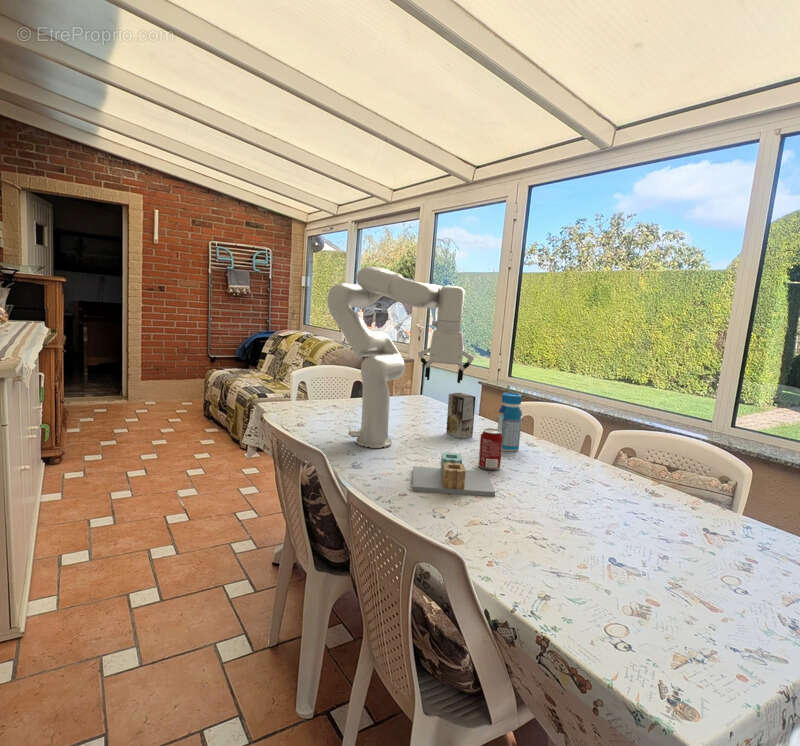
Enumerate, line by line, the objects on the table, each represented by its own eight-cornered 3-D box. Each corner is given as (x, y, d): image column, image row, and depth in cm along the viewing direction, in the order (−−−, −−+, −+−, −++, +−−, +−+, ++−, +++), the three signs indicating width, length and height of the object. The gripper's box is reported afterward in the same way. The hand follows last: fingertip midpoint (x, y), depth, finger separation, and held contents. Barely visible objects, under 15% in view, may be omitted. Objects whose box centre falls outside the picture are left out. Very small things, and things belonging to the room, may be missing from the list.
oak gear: (443, 488, 126) (444, 470, 125) (441, 478, 133) (443, 461, 132) (464, 490, 126) (465, 472, 125) (461, 480, 133) (463, 463, 132)
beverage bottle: (509, 453, 164) (515, 397, 161) (490, 447, 170) (495, 393, 167) (523, 449, 170) (529, 395, 167) (504, 443, 176) (509, 391, 173)
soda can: (499, 472, 144) (503, 434, 143) (477, 469, 146) (480, 432, 144) (499, 465, 151) (503, 429, 149) (478, 462, 152) (481, 426, 151)
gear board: (412, 490, 126) (414, 468, 125) (413, 470, 142) (414, 450, 141) (494, 496, 126) (496, 474, 125) (485, 474, 142) (487, 454, 141)
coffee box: (473, 437, 182) (476, 396, 180) (460, 439, 179) (463, 397, 176) (457, 431, 190) (460, 392, 187) (445, 433, 186) (448, 393, 184)
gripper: (420, 325, 142) (415, 380, 145) (478, 330, 141) (471, 385, 144) (420, 323, 149) (416, 376, 152) (475, 328, 148) (469, 381, 151)
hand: (443, 381), depth 148 cm, fingers open, 9 cm apart
